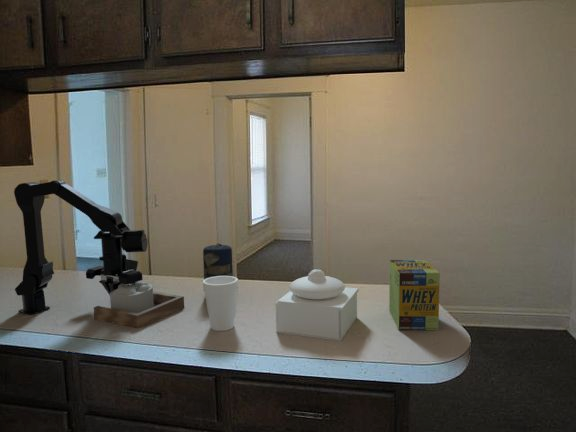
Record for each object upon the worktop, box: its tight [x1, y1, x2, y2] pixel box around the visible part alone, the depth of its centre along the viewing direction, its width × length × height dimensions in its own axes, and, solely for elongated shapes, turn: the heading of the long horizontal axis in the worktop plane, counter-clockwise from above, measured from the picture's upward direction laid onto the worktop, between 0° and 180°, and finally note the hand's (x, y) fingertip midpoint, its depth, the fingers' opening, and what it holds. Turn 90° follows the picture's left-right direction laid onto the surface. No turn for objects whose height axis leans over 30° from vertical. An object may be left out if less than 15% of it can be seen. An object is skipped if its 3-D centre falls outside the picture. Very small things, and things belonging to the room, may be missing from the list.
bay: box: [93, 291, 185, 329], centre depth 136 cm, size 18×19×4 cm
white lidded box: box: [275, 268, 360, 342], centre depth 122 cm, size 18×18×16 cm
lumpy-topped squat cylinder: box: [109, 281, 155, 313], centre depth 137 cm, size 10×13×9 cm
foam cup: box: [202, 275, 239, 332], centre depth 123 cm, size 10×9×13 cm
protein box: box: [388, 259, 441, 331], centre depth 124 cm, size 10×15×16 cm
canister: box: [202, 243, 234, 280], centre depth 149 cm, size 10×10×18 cm
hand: (115, 301), depth 141 cm, fingers closed
